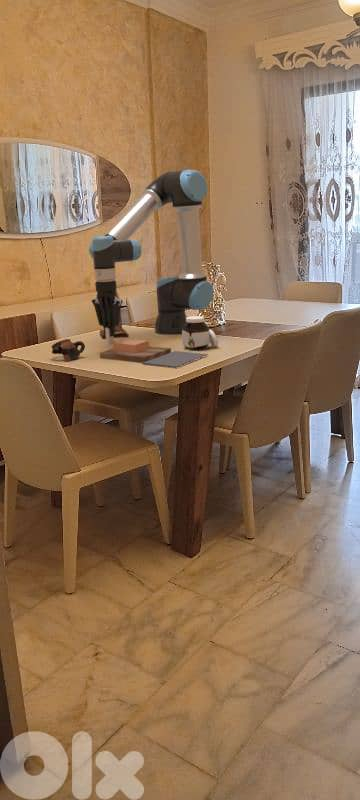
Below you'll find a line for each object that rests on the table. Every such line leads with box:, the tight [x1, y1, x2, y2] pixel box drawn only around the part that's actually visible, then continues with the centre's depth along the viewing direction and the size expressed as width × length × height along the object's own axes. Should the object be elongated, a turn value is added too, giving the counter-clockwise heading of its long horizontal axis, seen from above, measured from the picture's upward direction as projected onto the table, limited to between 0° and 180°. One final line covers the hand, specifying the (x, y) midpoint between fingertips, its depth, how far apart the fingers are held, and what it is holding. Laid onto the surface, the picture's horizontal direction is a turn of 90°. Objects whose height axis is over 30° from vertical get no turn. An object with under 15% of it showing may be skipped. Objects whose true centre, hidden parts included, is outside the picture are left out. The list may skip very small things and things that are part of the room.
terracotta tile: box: [112, 338, 150, 353], centre depth 231 cm, size 8×10×3 cm
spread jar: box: [181, 315, 219, 351], centre depth 238 cm, size 12×11×12 cm
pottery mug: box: [51, 338, 86, 362], centre depth 231 cm, size 12×10×8 cm
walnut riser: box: [99, 345, 172, 364], centre depth 230 cm, size 16×20×2 cm
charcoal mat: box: [142, 350, 209, 368], centre depth 221 cm, size 20×14×1 cm
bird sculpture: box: [99, 279, 129, 339], centre depth 266 cm, size 11×12×32 cm
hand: (110, 344), depth 236 cm, fingers closed
